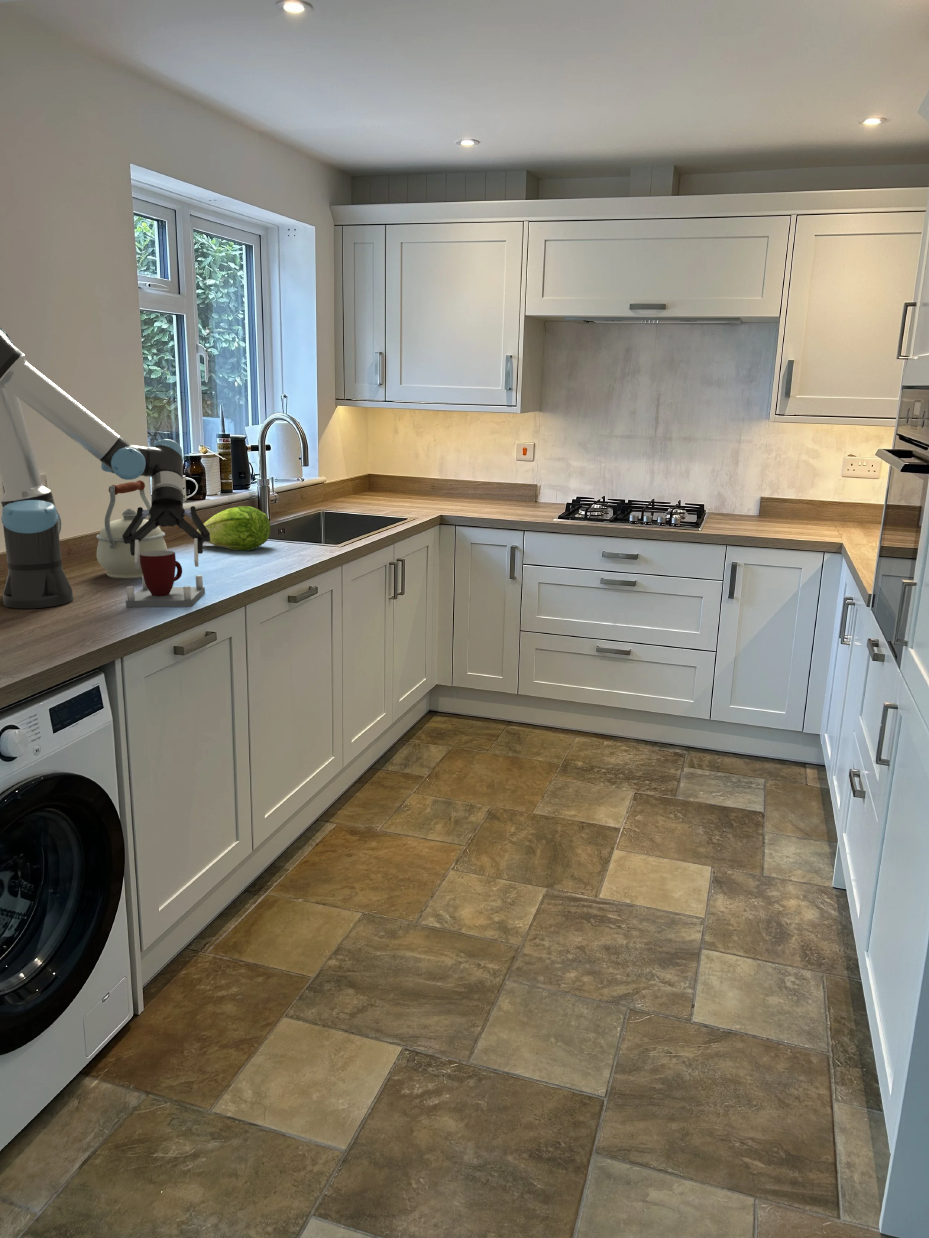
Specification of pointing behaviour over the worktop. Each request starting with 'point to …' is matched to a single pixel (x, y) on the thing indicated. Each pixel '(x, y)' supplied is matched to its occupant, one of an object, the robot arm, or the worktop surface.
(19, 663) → the worktop surface
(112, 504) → the kettle
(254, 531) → the lettuce
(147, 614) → the worktop surface
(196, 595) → the post board
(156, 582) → the mug
